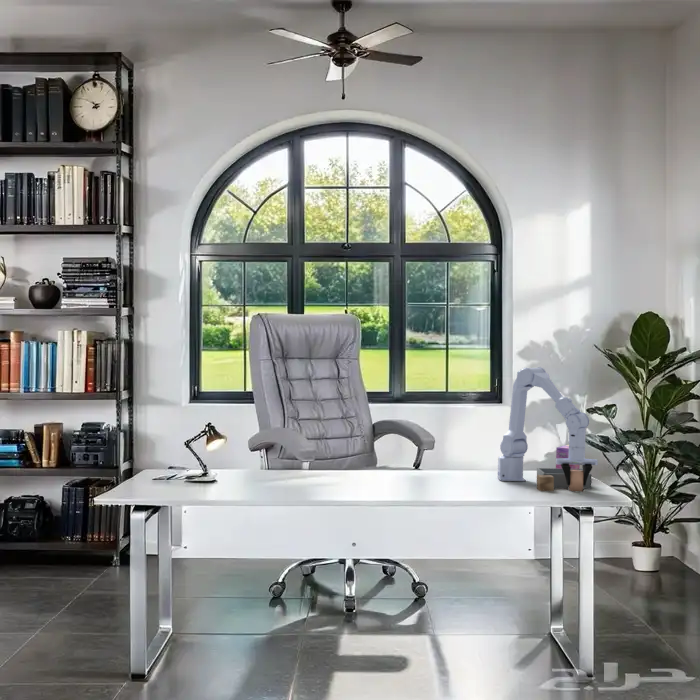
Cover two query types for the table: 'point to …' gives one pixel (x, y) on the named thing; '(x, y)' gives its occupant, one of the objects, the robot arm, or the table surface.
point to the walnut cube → (545, 482)
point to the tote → (560, 477)
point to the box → (564, 456)
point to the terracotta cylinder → (576, 480)
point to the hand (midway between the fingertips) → (576, 484)
